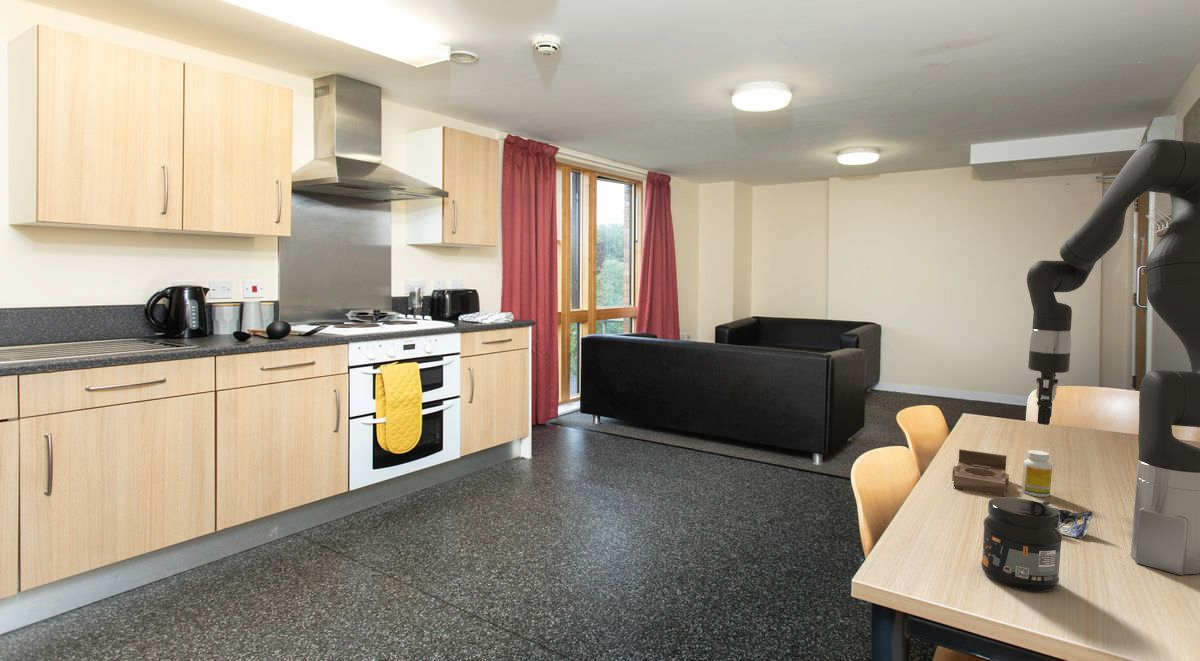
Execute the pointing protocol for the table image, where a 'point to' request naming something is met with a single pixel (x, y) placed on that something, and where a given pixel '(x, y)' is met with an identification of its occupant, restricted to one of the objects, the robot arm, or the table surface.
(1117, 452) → the table surface
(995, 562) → the supplement container
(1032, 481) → the supplement bottle
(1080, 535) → the snack package
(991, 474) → the brown bottle holder
